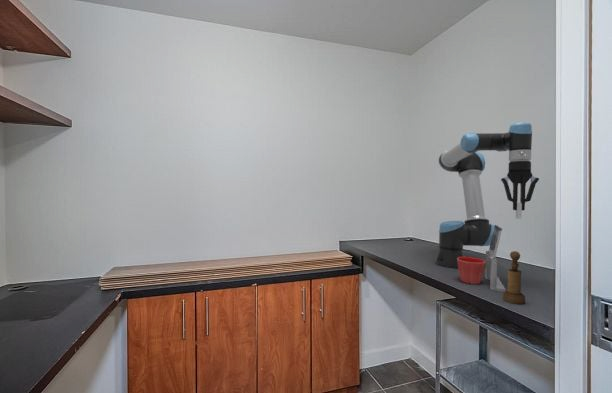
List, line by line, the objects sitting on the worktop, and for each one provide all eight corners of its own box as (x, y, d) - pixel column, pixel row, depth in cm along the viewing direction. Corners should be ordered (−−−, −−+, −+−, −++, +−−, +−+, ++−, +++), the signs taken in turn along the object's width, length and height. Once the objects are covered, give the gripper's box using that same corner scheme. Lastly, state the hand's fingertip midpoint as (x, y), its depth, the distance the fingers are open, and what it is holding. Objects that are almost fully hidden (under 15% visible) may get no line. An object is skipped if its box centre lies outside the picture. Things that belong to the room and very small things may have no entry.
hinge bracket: (485, 277, 136) (485, 250, 136) (497, 279, 134) (498, 251, 133) (490, 290, 119) (491, 259, 118) (505, 292, 116) (506, 260, 116)
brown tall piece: (505, 302, 106) (507, 252, 105) (500, 296, 112) (501, 249, 111) (527, 305, 103) (529, 254, 103) (521, 298, 109) (522, 250, 109)
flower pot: (489, 286, 124) (489, 263, 123) (460, 284, 126) (461, 261, 126) (479, 278, 134) (480, 257, 134) (453, 277, 136) (454, 256, 136)
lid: (494, 224, 131) (499, 225, 131) (486, 255, 133) (491, 256, 132) (499, 227, 120) (504, 229, 119) (491, 261, 121) (496, 262, 120)
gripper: (502, 160, 121) (501, 218, 122) (542, 159, 116) (540, 219, 116) (499, 162, 128) (498, 217, 128) (536, 161, 122) (535, 218, 123)
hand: (518, 218), depth 122 cm, fingers closed
